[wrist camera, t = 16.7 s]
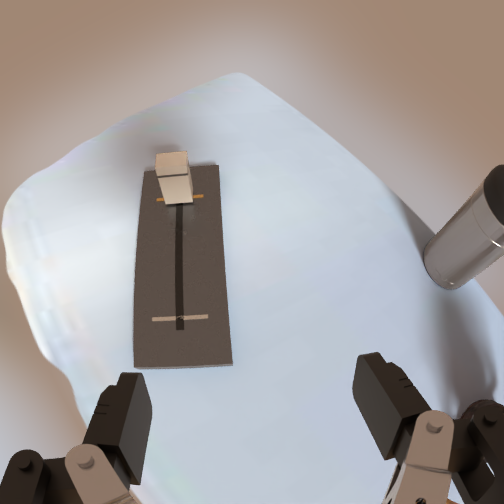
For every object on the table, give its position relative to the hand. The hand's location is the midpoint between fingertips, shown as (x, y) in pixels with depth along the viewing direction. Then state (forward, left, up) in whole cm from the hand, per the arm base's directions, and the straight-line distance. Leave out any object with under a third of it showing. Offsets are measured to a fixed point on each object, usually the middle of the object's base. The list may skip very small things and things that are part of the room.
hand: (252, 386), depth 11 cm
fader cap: (-15, -25, -26) cm, 39 cm away
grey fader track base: (-9, -18, -28) cm, 35 cm away
